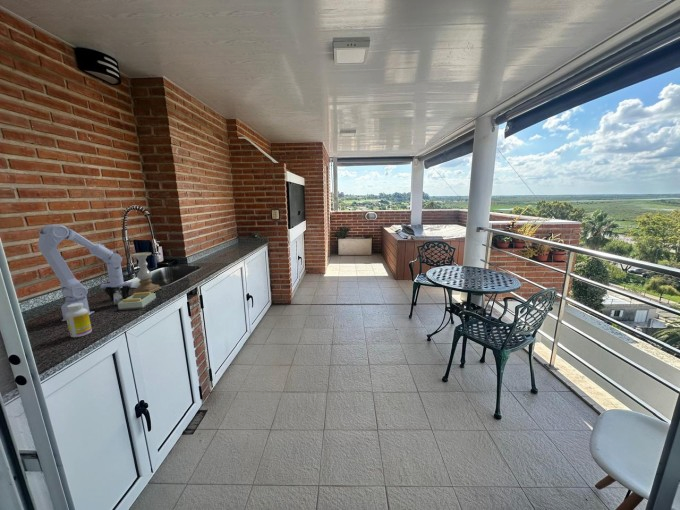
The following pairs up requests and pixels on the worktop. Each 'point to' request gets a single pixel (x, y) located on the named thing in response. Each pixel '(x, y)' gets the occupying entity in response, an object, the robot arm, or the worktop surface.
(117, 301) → the spout can
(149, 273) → the candle holder
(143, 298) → the pale green tray
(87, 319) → the supplement bottle
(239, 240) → the worktop surface
